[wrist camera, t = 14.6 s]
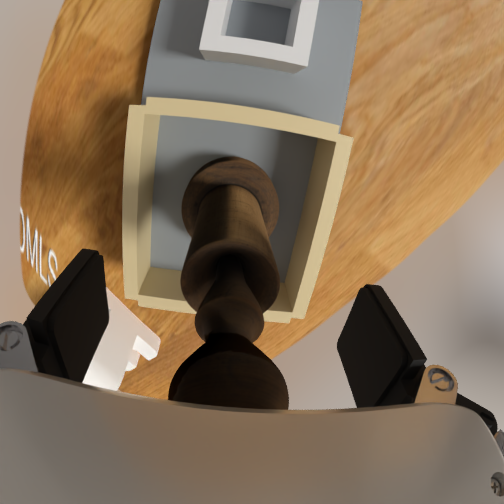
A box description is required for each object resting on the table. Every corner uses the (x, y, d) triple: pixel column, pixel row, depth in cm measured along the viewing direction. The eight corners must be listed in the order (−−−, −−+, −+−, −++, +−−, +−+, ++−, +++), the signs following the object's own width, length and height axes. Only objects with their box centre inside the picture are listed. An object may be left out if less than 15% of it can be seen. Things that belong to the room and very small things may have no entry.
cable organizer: (130, 359, 30) (108, 434, 21) (63, 297, 26) (18, 366, 17) (163, 340, 29) (145, 422, 20) (91, 271, 25) (43, 344, 16)
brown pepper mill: (278, 238, 23) (349, 474, 7) (194, 248, 23) (148, 488, 7) (271, 151, 20) (400, 318, 4) (178, 163, 20) (30, 350, 4)
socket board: (356, 5, 16) (385, -15, 12) (296, 286, 27) (308, 324, 22) (172, -26, 15) (157, -54, 10) (136, 267, 25) (119, 302, 21)
